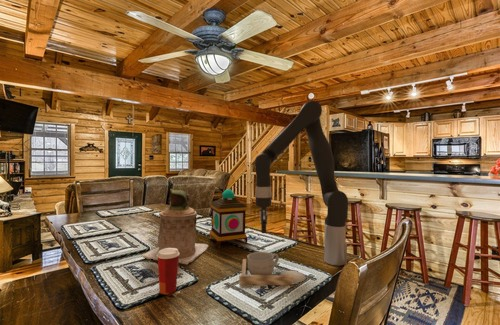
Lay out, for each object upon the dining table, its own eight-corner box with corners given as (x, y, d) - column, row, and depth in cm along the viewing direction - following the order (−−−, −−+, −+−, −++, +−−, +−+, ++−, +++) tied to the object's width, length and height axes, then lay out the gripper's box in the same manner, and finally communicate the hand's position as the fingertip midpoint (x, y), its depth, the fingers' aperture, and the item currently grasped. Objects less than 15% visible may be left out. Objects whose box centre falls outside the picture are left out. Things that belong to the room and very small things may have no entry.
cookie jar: (190, 265, 111) (190, 192, 111) (139, 260, 116) (140, 190, 115) (210, 247, 135) (210, 187, 135) (167, 243, 140) (168, 185, 140)
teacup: (252, 283, 96) (252, 261, 96) (243, 271, 106) (244, 252, 106) (285, 278, 100) (285, 258, 100) (274, 267, 110) (274, 248, 110)
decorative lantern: (206, 238, 150) (206, 187, 150) (237, 234, 158) (237, 186, 158) (216, 249, 132) (217, 191, 132) (250, 244, 140) (251, 190, 140)
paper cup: (181, 285, 93) (181, 247, 93) (176, 296, 85) (176, 254, 85) (160, 285, 93) (160, 247, 93) (152, 296, 85) (153, 254, 85)
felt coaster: (302, 271, 106) (302, 270, 106) (307, 283, 96) (307, 282, 96) (278, 271, 106) (278, 270, 106) (281, 282, 96) (281, 281, 96)
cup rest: (286, 266, 111) (286, 259, 111) (292, 285, 94) (292, 277, 94) (241, 265, 111) (241, 258, 111) (239, 284, 94) (239, 276, 94)
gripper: (272, 197, 112) (272, 236, 112) (270, 194, 126) (270, 228, 126) (255, 198, 112) (256, 236, 113) (255, 194, 126) (255, 229, 126)
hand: (263, 232), depth 119 cm, fingers closed
